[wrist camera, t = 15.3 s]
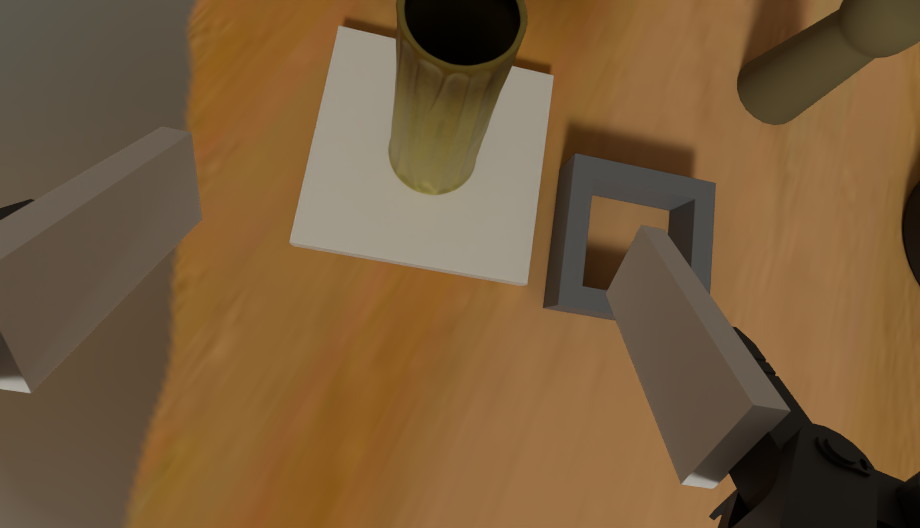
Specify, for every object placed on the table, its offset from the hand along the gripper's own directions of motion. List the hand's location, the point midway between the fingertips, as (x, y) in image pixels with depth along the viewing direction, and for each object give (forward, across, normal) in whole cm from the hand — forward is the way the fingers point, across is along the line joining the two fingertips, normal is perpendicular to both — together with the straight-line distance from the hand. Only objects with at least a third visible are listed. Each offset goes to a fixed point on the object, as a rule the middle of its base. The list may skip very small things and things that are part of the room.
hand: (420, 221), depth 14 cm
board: (+19, 0, -6) cm, 20 cm away
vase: (+19, 0, -5) cm, 19 cm away
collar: (+17, +15, -9) cm, 24 cm away
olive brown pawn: (+28, +27, +2) cm, 39 cm away
